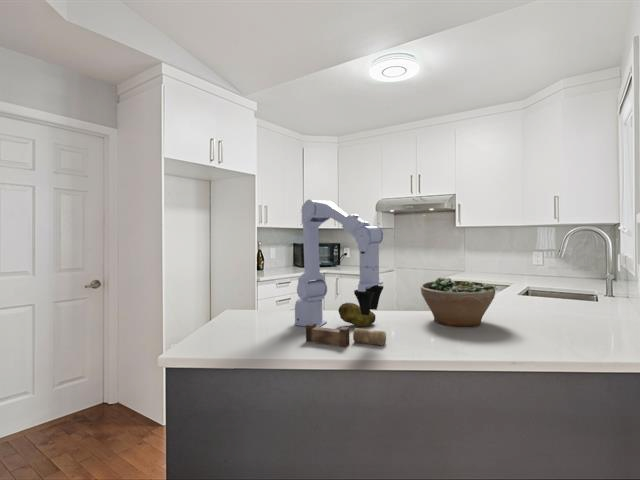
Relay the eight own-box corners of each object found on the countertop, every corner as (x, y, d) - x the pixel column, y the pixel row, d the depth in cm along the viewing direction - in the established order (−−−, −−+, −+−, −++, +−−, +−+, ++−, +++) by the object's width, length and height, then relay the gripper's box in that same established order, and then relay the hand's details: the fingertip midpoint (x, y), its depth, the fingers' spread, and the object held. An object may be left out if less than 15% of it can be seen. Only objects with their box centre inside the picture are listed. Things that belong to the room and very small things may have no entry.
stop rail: (306, 341, 113) (305, 325, 113) (310, 338, 116) (310, 322, 115) (346, 347, 108) (345, 329, 107) (349, 344, 110) (349, 327, 110)
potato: (375, 329, 126) (375, 305, 125) (337, 328, 128) (337, 304, 127) (375, 322, 134) (375, 300, 134) (339, 321, 136) (339, 300, 136)
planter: (511, 328, 125) (512, 284, 125) (445, 334, 119) (445, 288, 119) (464, 311, 150) (464, 275, 150) (407, 315, 144) (407, 277, 143)
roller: (352, 342, 111) (353, 329, 112) (357, 340, 115) (357, 327, 115) (382, 346, 107) (382, 332, 108) (386, 344, 111) (386, 330, 111)
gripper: (375, 269, 102) (375, 318, 103) (388, 264, 115) (389, 308, 116) (350, 268, 105) (351, 316, 106) (367, 263, 118) (367, 306, 119)
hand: (369, 312), depth 111 cm, fingers open, 7 cm apart
